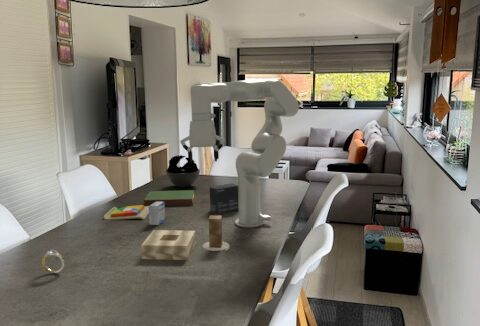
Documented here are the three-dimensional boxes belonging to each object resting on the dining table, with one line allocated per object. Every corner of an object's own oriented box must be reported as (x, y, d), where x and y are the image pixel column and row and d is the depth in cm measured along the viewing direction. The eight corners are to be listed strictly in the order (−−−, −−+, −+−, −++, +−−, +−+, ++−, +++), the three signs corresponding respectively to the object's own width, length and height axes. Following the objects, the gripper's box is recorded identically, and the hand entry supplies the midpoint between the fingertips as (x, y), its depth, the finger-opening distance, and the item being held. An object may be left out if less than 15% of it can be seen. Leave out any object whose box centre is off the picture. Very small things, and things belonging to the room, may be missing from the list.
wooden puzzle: (114, 210, 220) (114, 203, 220) (152, 210, 219) (152, 203, 219) (102, 220, 203) (102, 213, 203) (143, 221, 202) (143, 213, 202)
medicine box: (158, 225, 194) (158, 206, 192) (149, 225, 195) (148, 205, 193) (165, 220, 202) (164, 201, 200) (156, 219, 202) (155, 201, 201)
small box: (232, 206, 223) (232, 182, 221) (240, 209, 217) (239, 185, 215) (209, 210, 216) (209, 186, 214) (216, 213, 210) (216, 189, 208)
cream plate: (230, 243, 171) (230, 241, 171) (227, 253, 161) (227, 250, 161) (204, 243, 172) (204, 240, 172) (200, 252, 162) (200, 250, 162)
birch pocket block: (195, 245, 169) (195, 230, 168) (187, 262, 153) (187, 246, 152) (154, 245, 170) (153, 230, 169) (142, 261, 155) (141, 245, 153)
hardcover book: (144, 207, 225) (143, 200, 224) (149, 197, 243) (149, 191, 242) (194, 206, 226) (193, 198, 225) (195, 196, 244) (195, 190, 244)
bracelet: (41, 275, 144) (39, 251, 143) (46, 271, 148) (44, 248, 146) (62, 275, 144) (60, 252, 142) (66, 271, 147) (65, 248, 146)
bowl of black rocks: (167, 183, 275) (166, 153, 271) (200, 182, 277) (199, 152, 274) (165, 191, 255) (164, 158, 252) (200, 190, 257) (199, 157, 254)
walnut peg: (222, 243, 168) (221, 215, 166) (221, 247, 164) (220, 219, 162) (210, 243, 169) (210, 215, 167) (209, 247, 164) (208, 218, 162)
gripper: (224, 115, 174) (226, 158, 177) (180, 117, 174) (182, 160, 178) (223, 117, 167) (225, 162, 170) (177, 118, 167) (180, 163, 170)
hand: (203, 161), depth 174 cm, fingers open, 9 cm apart
